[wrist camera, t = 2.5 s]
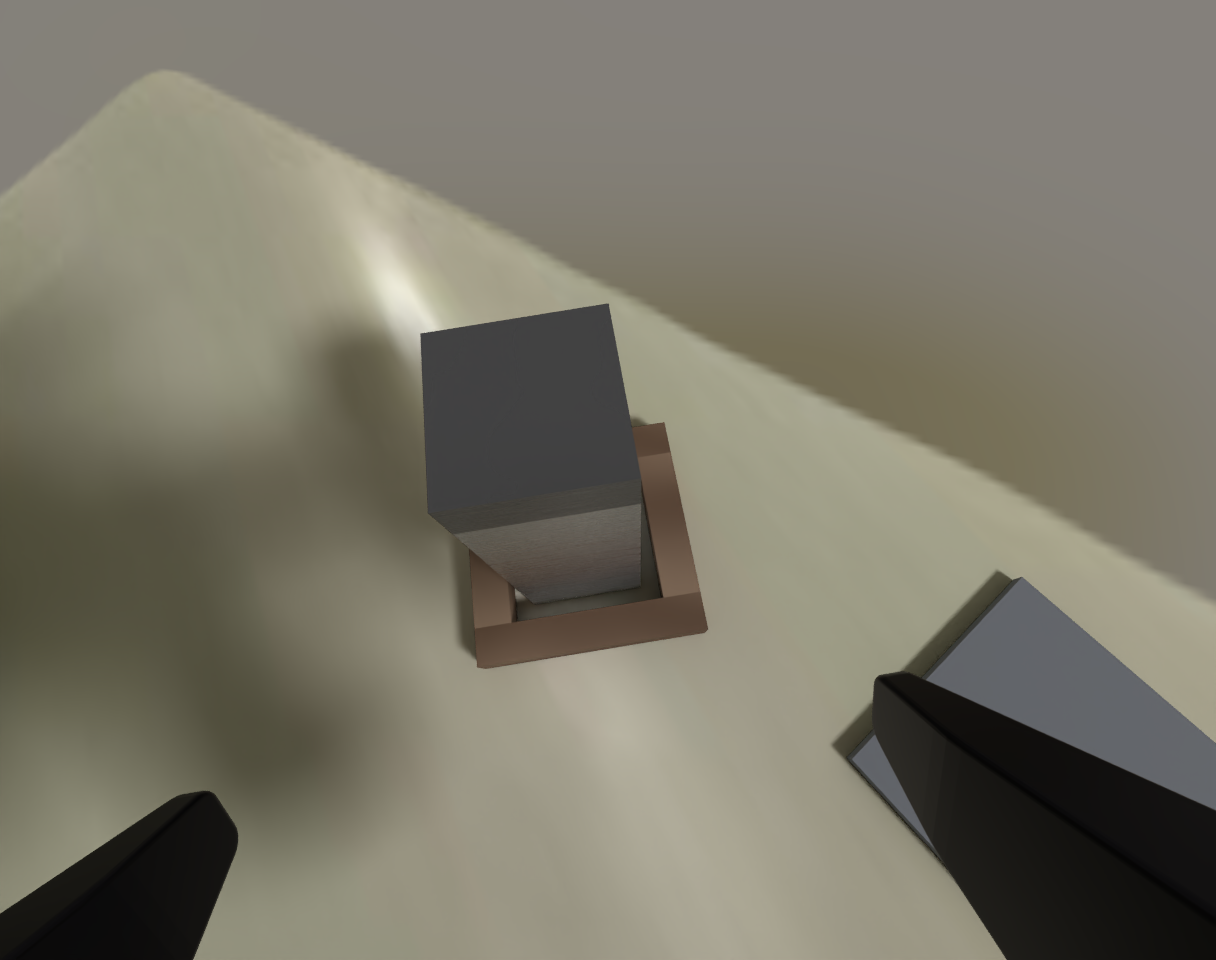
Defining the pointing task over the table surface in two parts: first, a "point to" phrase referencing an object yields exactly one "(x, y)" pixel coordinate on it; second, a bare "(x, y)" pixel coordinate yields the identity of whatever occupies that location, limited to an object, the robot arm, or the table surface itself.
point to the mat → (1059, 699)
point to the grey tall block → (535, 451)
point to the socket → (605, 626)
